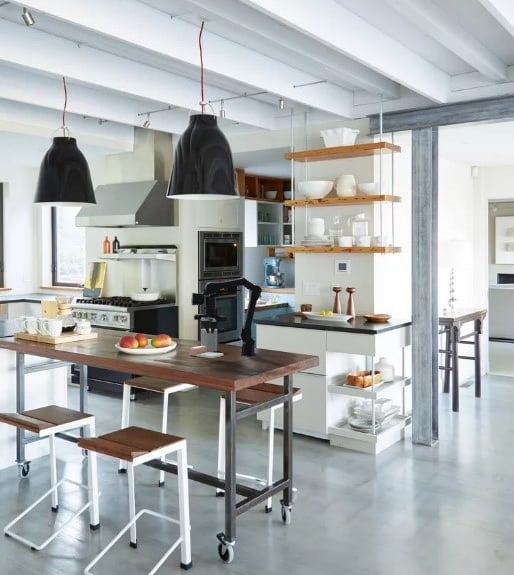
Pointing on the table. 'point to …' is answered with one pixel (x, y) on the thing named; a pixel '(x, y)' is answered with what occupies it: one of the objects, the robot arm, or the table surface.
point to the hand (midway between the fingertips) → (210, 333)
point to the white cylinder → (209, 340)
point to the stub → (197, 350)
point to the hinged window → (209, 354)
